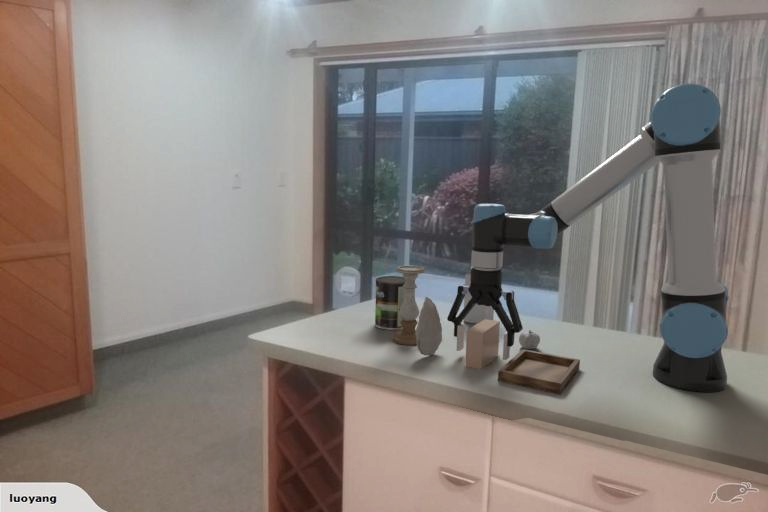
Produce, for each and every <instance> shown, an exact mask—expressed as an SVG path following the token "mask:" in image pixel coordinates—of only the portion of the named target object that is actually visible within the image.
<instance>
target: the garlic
mask: <svg viewBox="0 0 768 512" xmlns="http://www.w3.org/2000/svg"><path fill="white" fill-rule="evenodd" d="M518 341H519V344H520V346H521V347H522V348H523V349H525V350H535V349H536V348H538V346H539V345H540V342H541V337H540V335H539V334H538V333H536V332H534V331H532V330H531V329H529V330H528V331H523V332H521V333H520V335H519V336H518Z"/></svg>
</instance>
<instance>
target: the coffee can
mask: <svg viewBox="0 0 768 512" xmlns="http://www.w3.org/2000/svg"><path fill="white" fill-rule="evenodd" d="M404 284H405V279H404V278H403V276H398V275H387V276H386V275H384V276H380V277H379V276H378V277H376V278H375V311H374V312H375V313H374V315H375V317H374V326H375V327H376V328H378V329H380V330H386V331H399V330H403V327H402V324H401V323H400V321H401V320H402V318H401V316H400V313H399V311H400V308H401V305H402V303H403V301H404V296H405V288H403V285H404Z"/></svg>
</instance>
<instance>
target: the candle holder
mask: <svg viewBox="0 0 768 512" xmlns="http://www.w3.org/2000/svg"><path fill="white" fill-rule="evenodd" d="M395 271H396V272H397V273H398V274H399V273H400V274H402V276H401V277H403V278H404V279H405V284H404V285H403V288H405V296H404V301H403V303H402V305H401V308H400V311H399V313H400V316H401V318H402V320H401V321H400V323H401V324H402V327H403V329H402V330H397V331H396V333H395V334H393V335H392V341H393V342H394V343H397V344H399V345H405V346H411V345H413V346H414V345H416V346H417V339H416V328H417V326H418V322H419V321H418V320H417V318H419V316H420V309H419V307H418V305H417V304H418V303H417V301H416V289H417V288H418V286H417V284H416V280H417V278H418V277H419V275H420V274H423V273H425V268H424V267H423V266H419V265H399V266H397V267H396V270H395Z"/></svg>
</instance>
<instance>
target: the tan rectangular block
mask: <svg viewBox="0 0 768 512" xmlns="http://www.w3.org/2000/svg"><path fill="white" fill-rule="evenodd" d="M500 326H501V320H494V319H493V320H488V319H484V320H483V321H481V322H479V323H478V324H474V325H473V326H471V327H469V328H468V329H467V330H466V339H465V340H466V341H465V343H466V344H465V367H469V368H473V369H479V370H481V369H483V368H484V367H486V366H487V365H488V364H490V363H491V362H492V361H493V360H494V359H495V358H496V357H498V356H499V347H500V345H499V344H500Z"/></svg>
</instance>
